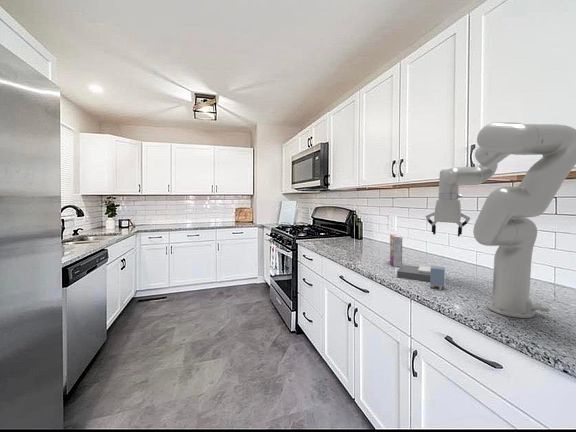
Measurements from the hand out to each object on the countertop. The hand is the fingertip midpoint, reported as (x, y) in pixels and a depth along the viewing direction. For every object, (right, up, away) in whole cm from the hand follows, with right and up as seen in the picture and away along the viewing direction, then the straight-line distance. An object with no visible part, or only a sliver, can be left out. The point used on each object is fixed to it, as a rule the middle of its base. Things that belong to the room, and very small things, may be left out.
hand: (446, 235), depth 124 cm
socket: (-9, -20, +8) cm, 24 cm away
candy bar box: (-11, -19, +30) cm, 37 cm away
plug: (-9, -22, -9) cm, 25 cm away
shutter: (-6, -17, +6) cm, 19 cm away
